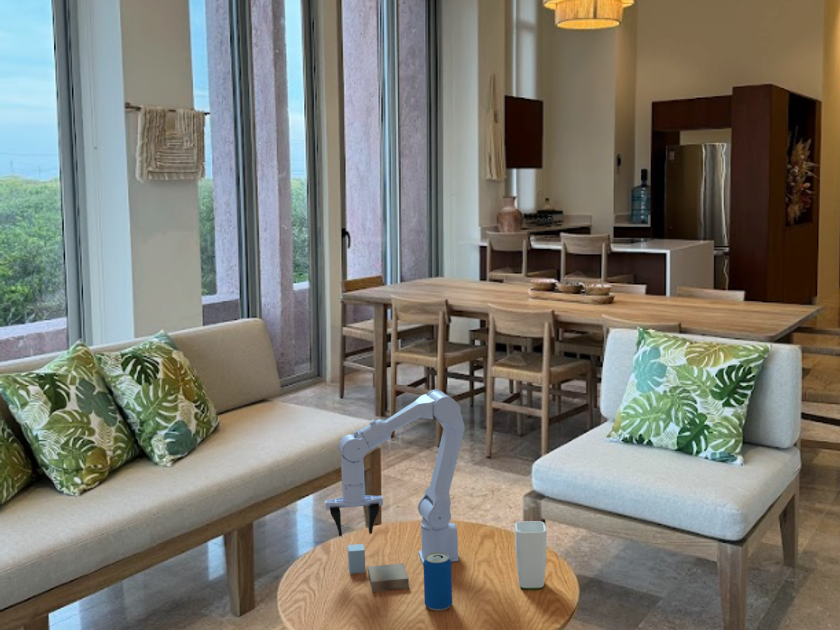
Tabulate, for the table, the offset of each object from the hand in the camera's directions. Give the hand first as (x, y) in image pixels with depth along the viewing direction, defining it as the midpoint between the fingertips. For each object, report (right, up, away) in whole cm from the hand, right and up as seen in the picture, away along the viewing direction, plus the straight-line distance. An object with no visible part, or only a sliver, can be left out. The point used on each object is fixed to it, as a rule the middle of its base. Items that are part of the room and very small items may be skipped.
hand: (355, 533), depth 229 cm
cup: (+44, -10, -10) cm, 46 cm away
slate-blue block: (0, -10, +1) cm, 10 cm away
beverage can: (+21, -12, -20) cm, 31 cm away
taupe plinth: (+9, -11, -6) cm, 15 cm away
